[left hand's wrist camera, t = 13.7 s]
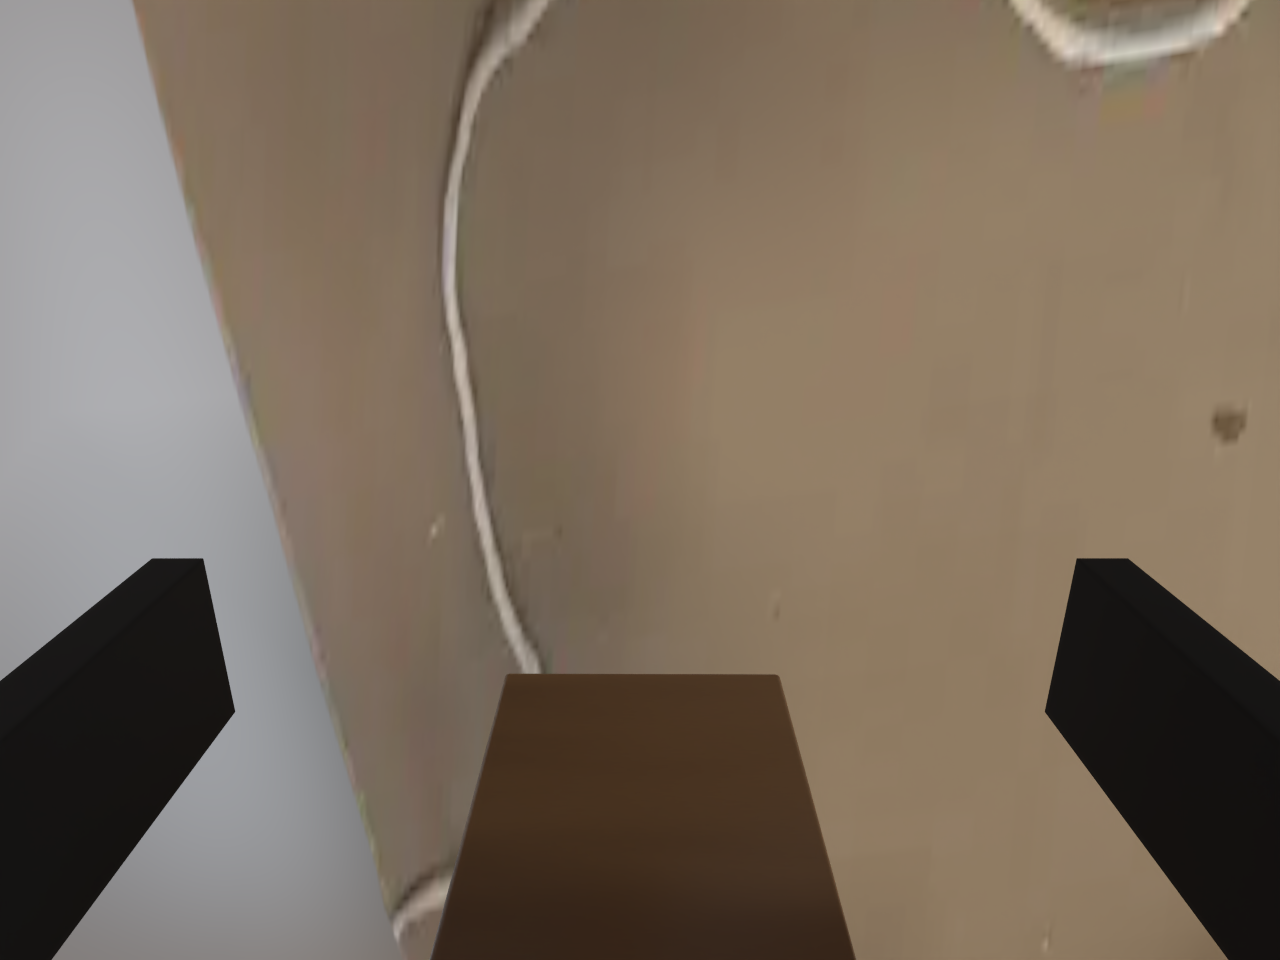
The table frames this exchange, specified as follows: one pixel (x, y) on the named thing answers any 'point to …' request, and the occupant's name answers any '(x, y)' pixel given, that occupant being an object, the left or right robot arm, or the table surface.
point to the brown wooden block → (642, 827)
